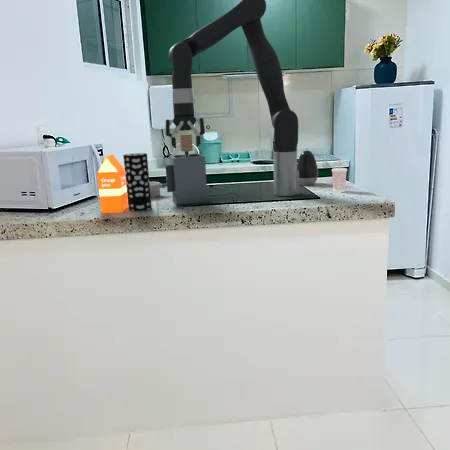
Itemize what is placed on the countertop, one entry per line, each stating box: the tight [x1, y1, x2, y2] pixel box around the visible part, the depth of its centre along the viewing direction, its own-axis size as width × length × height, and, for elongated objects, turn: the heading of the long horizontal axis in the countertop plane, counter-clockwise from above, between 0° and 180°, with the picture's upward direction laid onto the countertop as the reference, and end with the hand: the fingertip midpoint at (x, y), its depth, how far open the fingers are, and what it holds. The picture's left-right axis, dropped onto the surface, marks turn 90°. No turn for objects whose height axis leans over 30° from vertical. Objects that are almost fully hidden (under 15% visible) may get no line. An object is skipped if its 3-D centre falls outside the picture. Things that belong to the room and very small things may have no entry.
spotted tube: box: [122, 152, 152, 212], centre depth 161 cm, size 8×8×20 cm
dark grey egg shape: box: [297, 150, 319, 186], centre depth 198 cm, size 10×10×15 cm
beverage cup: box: [331, 156, 348, 193], centre depth 179 cm, size 6×6×14 cm
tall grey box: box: [164, 153, 208, 208], centre depth 168 cm, size 14×12×18 cm
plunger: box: [178, 133, 194, 157], centre depth 167 cm, size 9×9×25 cm
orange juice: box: [96, 154, 129, 214], centre depth 162 cm, size 8×9×20 cm
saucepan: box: [149, 181, 167, 199], centre depth 188 cm, size 12×20×6 cm, turn 98°
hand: (186, 147), depth 166 cm, fingers open, 8 cm apart
